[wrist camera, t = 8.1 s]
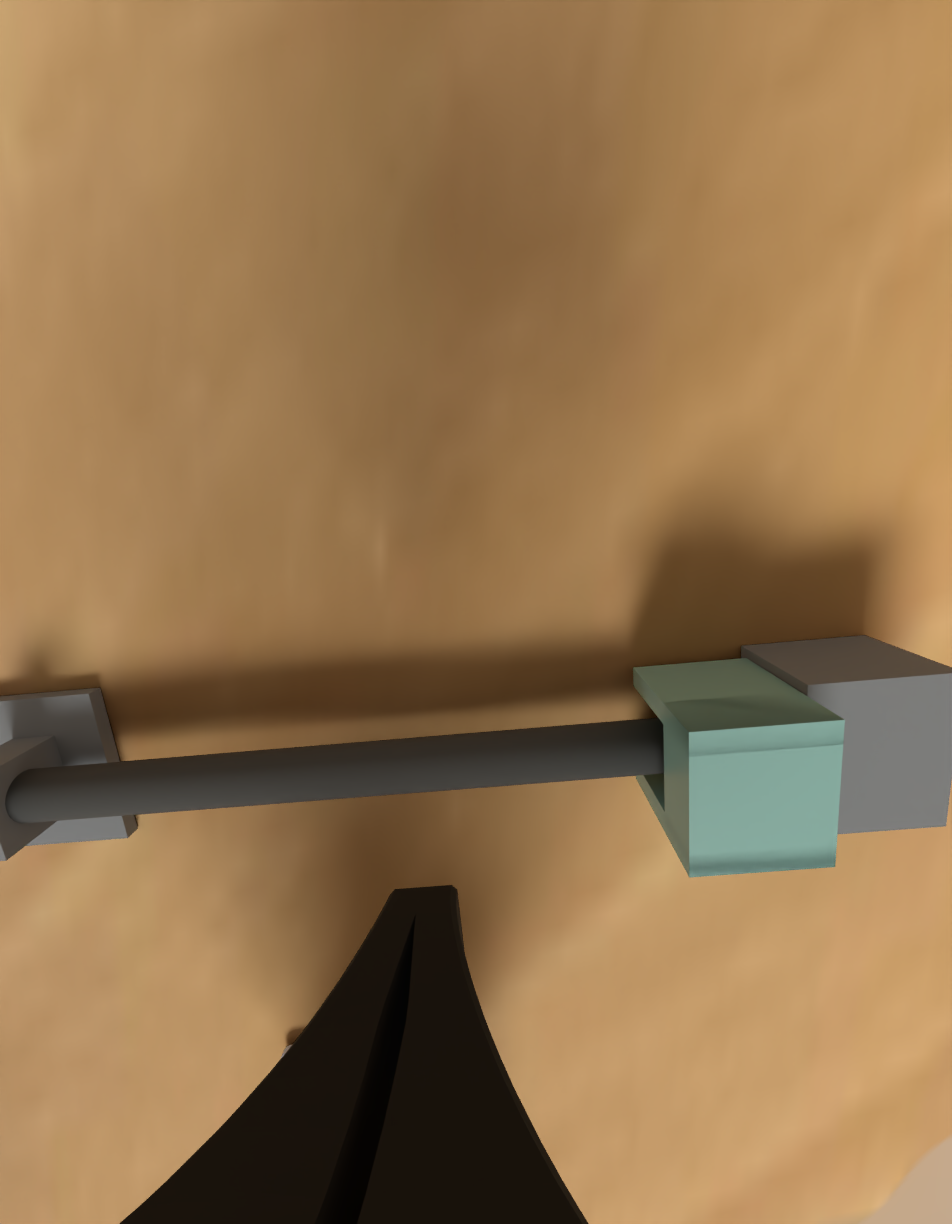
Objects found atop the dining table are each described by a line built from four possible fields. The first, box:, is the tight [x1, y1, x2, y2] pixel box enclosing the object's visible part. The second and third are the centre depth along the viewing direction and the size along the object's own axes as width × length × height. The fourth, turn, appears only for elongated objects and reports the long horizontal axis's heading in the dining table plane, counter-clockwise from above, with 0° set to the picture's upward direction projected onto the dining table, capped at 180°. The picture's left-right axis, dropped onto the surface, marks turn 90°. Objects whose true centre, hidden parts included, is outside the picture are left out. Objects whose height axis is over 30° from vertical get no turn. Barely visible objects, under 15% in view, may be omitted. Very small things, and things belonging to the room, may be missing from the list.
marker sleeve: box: [633, 658, 845, 877], centre depth 17 cm, size 4×4×5 cm
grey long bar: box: [0, 635, 952, 861], centre depth 18 cm, size 6×33×4 cm, turn 95°
